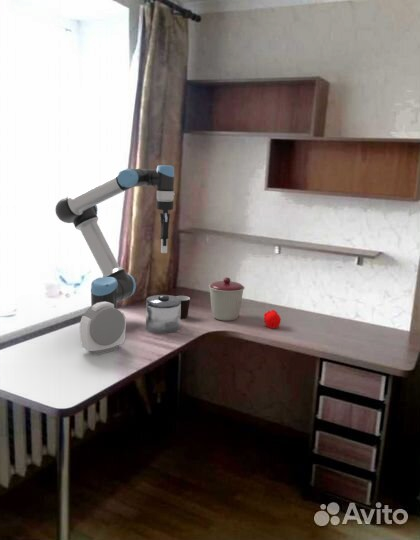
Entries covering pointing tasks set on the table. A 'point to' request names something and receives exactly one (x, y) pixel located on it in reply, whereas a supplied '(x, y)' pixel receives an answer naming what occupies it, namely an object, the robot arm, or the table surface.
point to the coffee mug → (184, 306)
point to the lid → (163, 301)
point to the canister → (226, 299)
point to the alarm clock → (102, 328)
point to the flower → (272, 319)
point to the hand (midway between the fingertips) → (164, 252)
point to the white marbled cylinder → (163, 319)
